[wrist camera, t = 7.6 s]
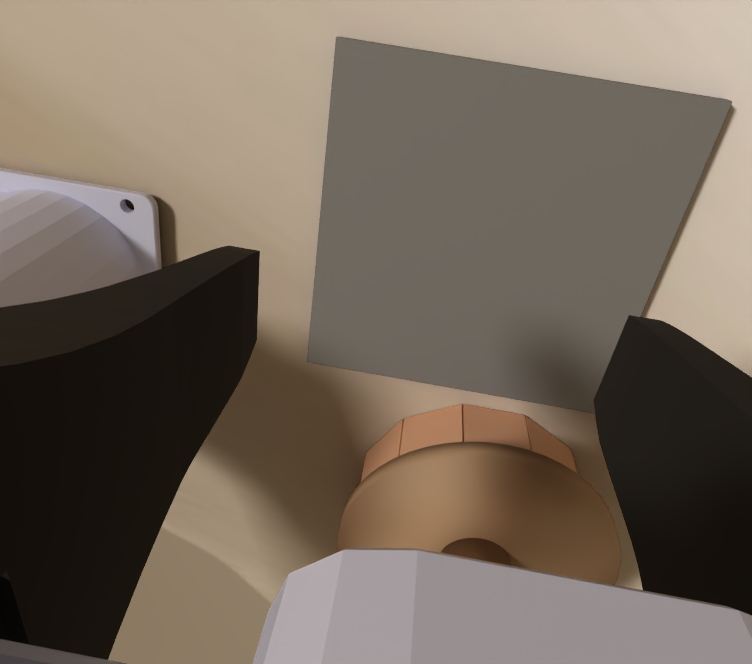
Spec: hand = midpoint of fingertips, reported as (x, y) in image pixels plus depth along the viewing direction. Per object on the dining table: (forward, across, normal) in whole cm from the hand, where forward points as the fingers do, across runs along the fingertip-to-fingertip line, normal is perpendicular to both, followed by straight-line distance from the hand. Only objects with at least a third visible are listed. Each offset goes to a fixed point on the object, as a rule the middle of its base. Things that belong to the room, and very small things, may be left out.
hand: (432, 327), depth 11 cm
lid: (+6, -4, +13) cm, 15 cm away
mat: (+10, -2, +2) cm, 10 cm away
